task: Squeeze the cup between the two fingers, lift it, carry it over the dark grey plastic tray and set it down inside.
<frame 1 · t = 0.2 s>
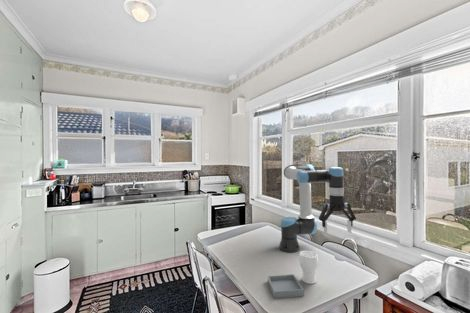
hand: (337, 232, 127), 28 cm above the table, fingers open, 13 cm apart
tray: (284, 288, 122), on the table
cup: (309, 280, 130), on the table
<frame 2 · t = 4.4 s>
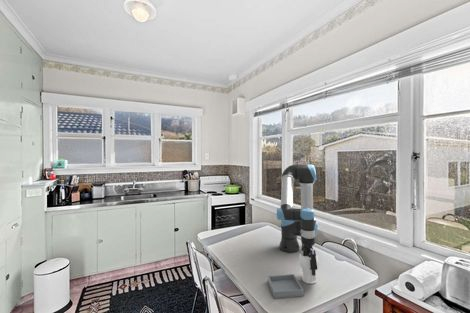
hand: (308, 275, 130), 3 cm above the table, fingers closed on cup, 11 cm apart
cup: (309, 280, 130), on the table, touching gripper
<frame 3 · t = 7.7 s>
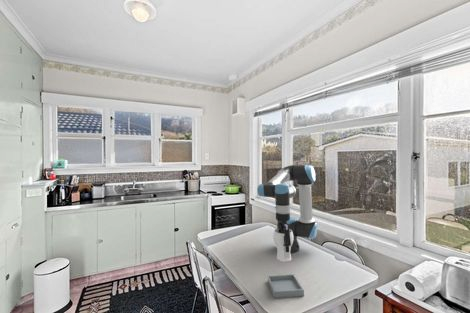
hand: (283, 253, 122), 19 cm above the table, fingers closed on cup, 11 cm apart
cup: (283, 258, 122), point 16 cm above the table, touching gripper
when the fingers open (5 cm above the table, at t = 11.1 s): cup drops 1 cm, resting on tray.
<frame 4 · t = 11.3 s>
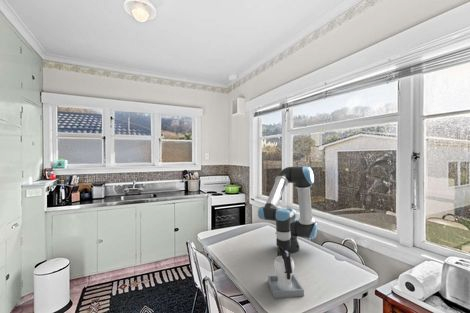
hand: (284, 277, 122), 6 cm above the table, fingers open, 12 cm apart
cup: (284, 287, 122), resting on tray
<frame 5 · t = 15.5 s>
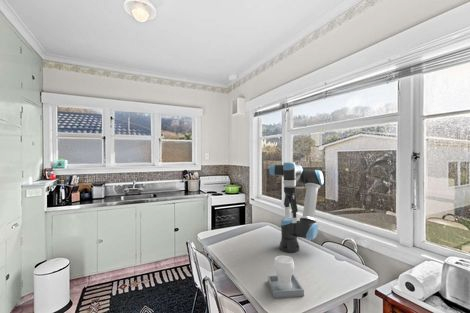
hand: (290, 219, 144), 31 cm above the table, fingers open, 13 cm apart
nothing on the table moved.
at the end: cup inside the target area on the tray (0.1 cm from its centre), point 0.4 cm above the tray's base; cup tilted 0°; the gripper is holding nothing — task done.
